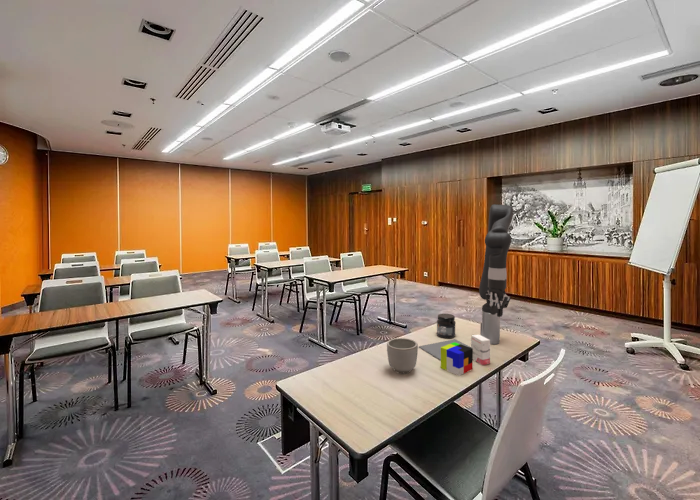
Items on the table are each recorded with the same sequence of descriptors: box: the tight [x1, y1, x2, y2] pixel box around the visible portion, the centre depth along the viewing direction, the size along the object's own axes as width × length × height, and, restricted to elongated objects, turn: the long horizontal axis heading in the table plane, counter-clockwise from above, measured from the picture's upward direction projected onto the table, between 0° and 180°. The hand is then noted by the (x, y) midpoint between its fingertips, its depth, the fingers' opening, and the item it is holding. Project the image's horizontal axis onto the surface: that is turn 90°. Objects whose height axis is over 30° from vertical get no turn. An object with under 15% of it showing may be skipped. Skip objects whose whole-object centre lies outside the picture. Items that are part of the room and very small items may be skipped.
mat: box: [418, 338, 471, 362], centre depth 178 cm, size 21×24×1 cm
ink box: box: [470, 334, 491, 366], centre depth 164 cm, size 9×5×12 cm, turn 16°
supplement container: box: [436, 313, 457, 339], centre depth 199 cm, size 10×10×12 cm
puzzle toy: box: [440, 342, 474, 377], centre depth 157 cm, size 10×10×10 cm
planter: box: [386, 337, 419, 375], centre depth 156 cm, size 14×14×13 cm
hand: (496, 315), depth 154 cm, fingers open, 3 cm apart
